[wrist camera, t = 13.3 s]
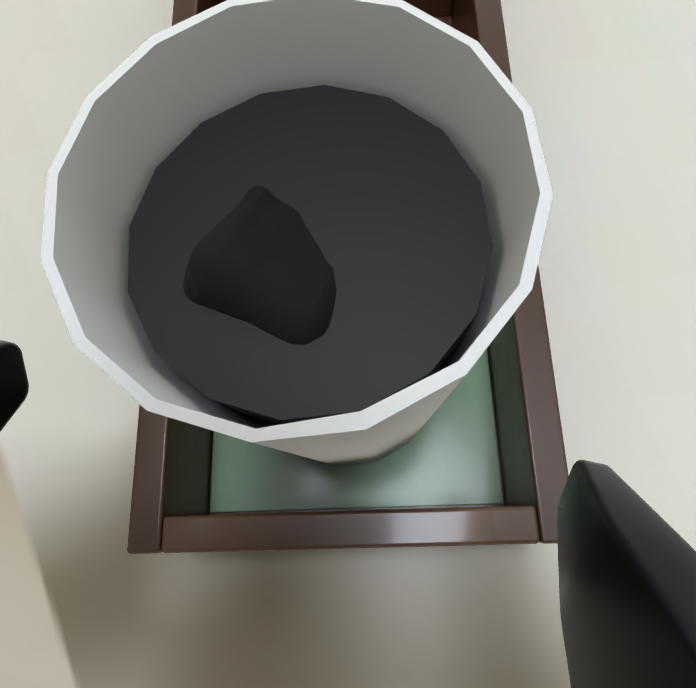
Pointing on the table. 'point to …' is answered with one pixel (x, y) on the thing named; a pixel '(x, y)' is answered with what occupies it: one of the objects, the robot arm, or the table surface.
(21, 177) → the table surface
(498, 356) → the tray
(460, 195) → the white cup
